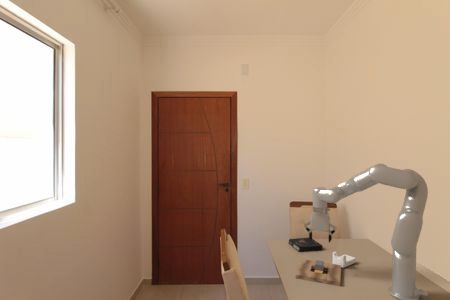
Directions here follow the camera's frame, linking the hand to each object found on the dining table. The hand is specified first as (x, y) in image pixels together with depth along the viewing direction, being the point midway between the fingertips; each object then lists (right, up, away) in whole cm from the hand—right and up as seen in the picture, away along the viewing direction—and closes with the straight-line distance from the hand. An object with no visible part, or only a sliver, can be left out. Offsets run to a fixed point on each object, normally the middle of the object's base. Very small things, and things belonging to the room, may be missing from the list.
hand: (320, 240), depth 159 cm
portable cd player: (+3, -18, +41) cm, 45 cm away
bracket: (+19, -19, +13) cm, 29 cm away
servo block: (0, -18, +1) cm, 18 cm away
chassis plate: (0, -18, +1) cm, 18 cm away
